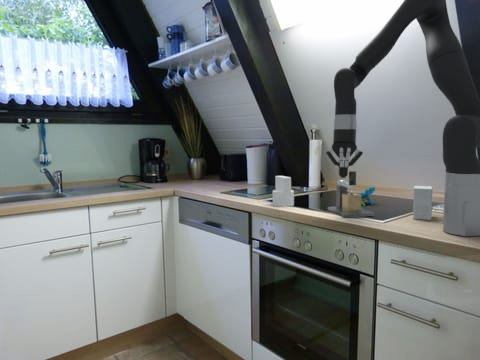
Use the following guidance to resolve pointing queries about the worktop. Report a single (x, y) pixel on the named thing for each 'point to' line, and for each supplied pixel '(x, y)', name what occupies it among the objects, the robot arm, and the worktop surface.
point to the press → (343, 213)
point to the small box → (422, 202)
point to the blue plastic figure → (367, 195)
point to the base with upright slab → (283, 192)
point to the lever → (351, 182)
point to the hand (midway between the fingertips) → (342, 177)
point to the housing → (351, 202)
